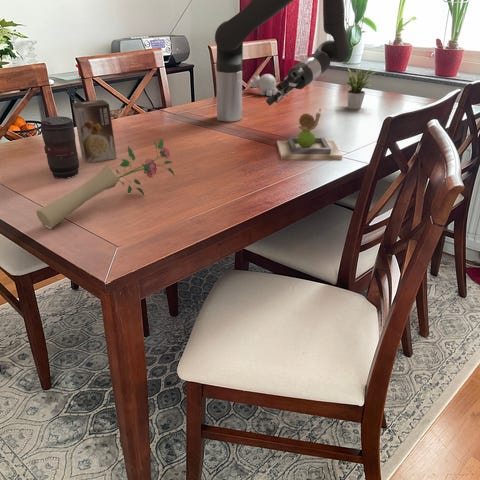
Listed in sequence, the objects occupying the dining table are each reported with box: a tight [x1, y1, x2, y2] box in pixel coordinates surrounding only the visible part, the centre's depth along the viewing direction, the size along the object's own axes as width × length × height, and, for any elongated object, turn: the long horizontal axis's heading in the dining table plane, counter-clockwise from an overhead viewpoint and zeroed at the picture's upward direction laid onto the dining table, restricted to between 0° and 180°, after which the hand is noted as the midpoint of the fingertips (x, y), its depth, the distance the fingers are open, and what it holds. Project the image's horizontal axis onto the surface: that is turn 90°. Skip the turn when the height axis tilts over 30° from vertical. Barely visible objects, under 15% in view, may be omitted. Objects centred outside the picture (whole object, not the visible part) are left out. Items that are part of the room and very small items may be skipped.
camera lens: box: [40, 115, 80, 179], centre depth 129 cm, size 8×8×15 cm
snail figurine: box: [296, 108, 322, 148], centre depth 147 cm, size 5×6×12 cm
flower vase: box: [35, 138, 175, 230], centre depth 115 cm, size 12×12×35 cm
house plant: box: [343, 66, 378, 110], centre depth 193 cm, size 14×14×16 cm
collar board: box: [276, 136, 343, 160], centre depth 150 cm, size 18×14×3 cm
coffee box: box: [71, 99, 118, 164], centre depth 140 cm, size 9×6×16 cm
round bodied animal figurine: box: [250, 73, 277, 97], centre depth 215 cm, size 8×12×9 cm, turn 54°
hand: (272, 95), depth 156 cm, fingers open, 8 cm apart
